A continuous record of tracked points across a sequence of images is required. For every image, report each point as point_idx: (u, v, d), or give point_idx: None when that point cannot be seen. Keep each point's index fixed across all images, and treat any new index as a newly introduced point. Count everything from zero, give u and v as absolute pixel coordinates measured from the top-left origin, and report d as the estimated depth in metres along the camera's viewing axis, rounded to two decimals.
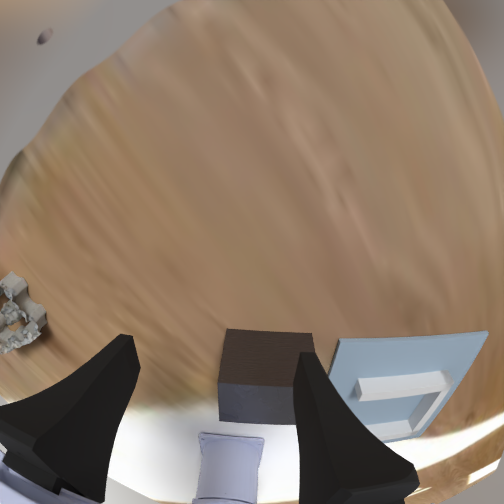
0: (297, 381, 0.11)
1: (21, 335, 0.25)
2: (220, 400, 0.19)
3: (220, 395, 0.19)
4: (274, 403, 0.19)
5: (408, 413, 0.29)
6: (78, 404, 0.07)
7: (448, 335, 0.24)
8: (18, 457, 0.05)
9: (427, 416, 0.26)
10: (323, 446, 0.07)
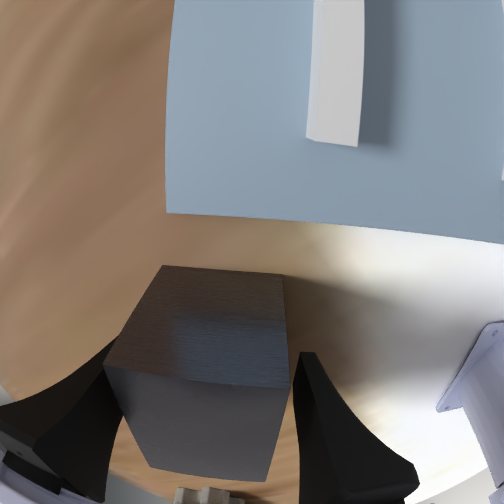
0: (297, 381, 0.11)
1: None
2: (195, 474, 0.10)
3: (181, 472, 0.10)
4: (185, 434, 0.08)
5: None
6: (78, 404, 0.07)
7: None
8: (18, 457, 0.05)
9: None
10: (323, 446, 0.07)
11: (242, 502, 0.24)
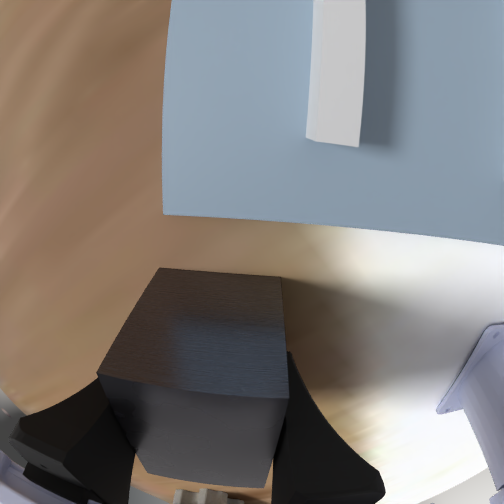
0: None
1: None
2: (193, 480, 0.09)
3: (179, 478, 0.09)
4: (182, 443, 0.08)
5: None
6: (105, 412, 0.07)
7: None
8: (40, 469, 0.05)
9: None
10: (287, 447, 0.07)
11: (241, 503, 0.24)
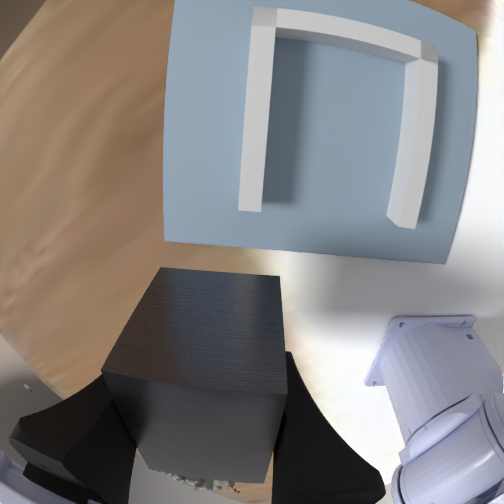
0: None
1: None
2: (194, 476, 0.10)
3: (180, 474, 0.10)
4: (184, 438, 0.08)
5: (383, 66, 0.14)
6: (105, 412, 0.07)
7: (169, 56, 0.14)
8: (40, 469, 0.05)
9: (369, 32, 0.11)
10: (287, 447, 0.07)
11: None
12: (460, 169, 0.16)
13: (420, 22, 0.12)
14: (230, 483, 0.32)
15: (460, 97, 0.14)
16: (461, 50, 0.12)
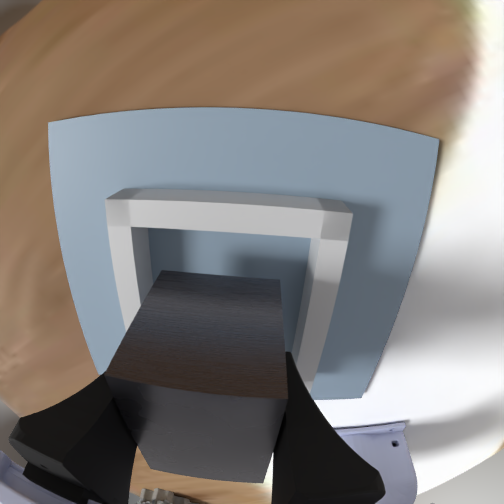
0: None
1: None
2: (195, 476, 0.10)
3: (181, 473, 0.10)
4: (185, 440, 0.08)
5: None
6: (105, 412, 0.07)
7: (60, 228, 0.15)
8: (40, 469, 0.05)
9: (244, 216, 0.12)
10: (287, 447, 0.07)
11: (186, 501, 0.33)
12: (382, 325, 0.16)
13: (345, 152, 0.12)
14: None
15: (393, 248, 0.14)
16: (407, 179, 0.13)
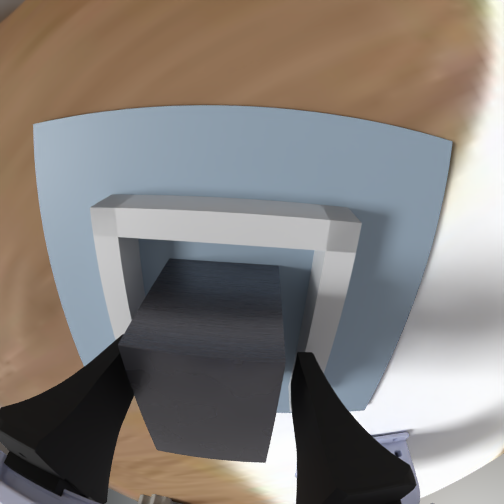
0: (294, 381, 0.11)
1: None
2: (200, 455, 0.11)
3: (186, 453, 0.11)
4: (191, 412, 0.09)
5: None
6: (81, 405, 0.07)
7: (48, 236, 0.14)
8: (20, 458, 0.05)
9: (242, 226, 0.11)
10: (319, 446, 0.07)
11: None
12: (388, 338, 0.15)
13: (353, 154, 0.11)
14: None
15: (402, 258, 0.13)
16: (419, 184, 0.12)
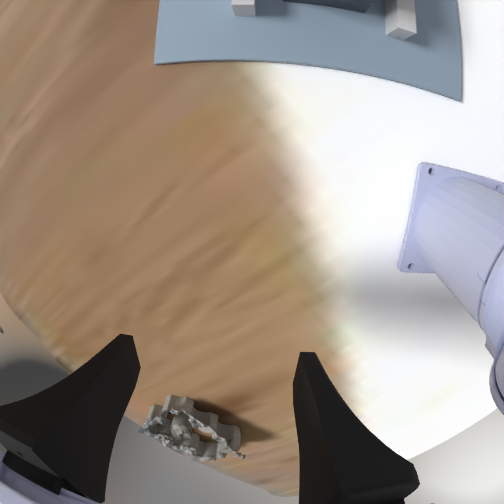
0: (297, 381, 0.11)
1: None
2: None
3: None
4: None
5: None
6: (78, 404, 0.07)
7: None
8: (18, 457, 0.05)
9: None
10: (323, 446, 0.07)
11: (214, 416, 0.28)
12: (449, 10, 0.11)
13: None
14: (231, 444, 0.27)
15: None
16: None
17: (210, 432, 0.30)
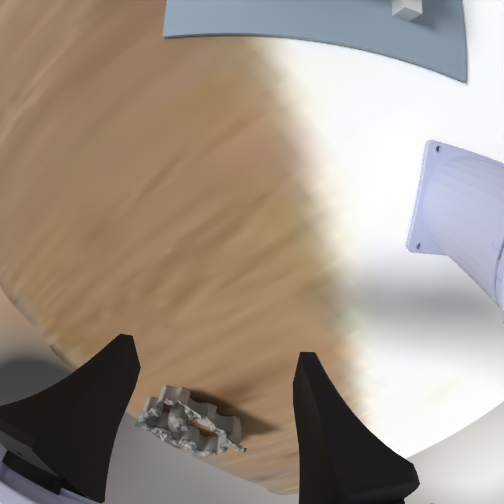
0: (297, 381, 0.11)
1: None
2: None
3: None
4: None
5: None
6: (78, 404, 0.07)
7: None
8: (18, 457, 0.05)
9: None
10: (323, 446, 0.07)
11: (212, 407, 0.27)
12: None
13: None
14: (231, 437, 0.26)
15: None
16: None
17: (210, 425, 0.29)
